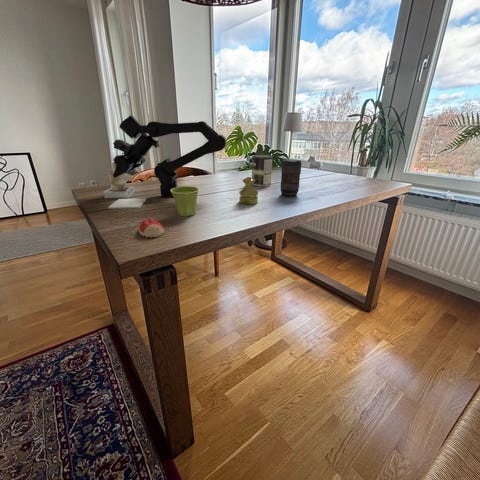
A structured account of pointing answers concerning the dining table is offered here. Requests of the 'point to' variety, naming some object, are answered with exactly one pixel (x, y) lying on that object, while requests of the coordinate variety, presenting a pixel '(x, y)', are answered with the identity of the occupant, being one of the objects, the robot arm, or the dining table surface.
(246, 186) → the olive yellow tied sack
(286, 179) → the dark brown cylinder
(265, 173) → the coffee can
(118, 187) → the maple peg
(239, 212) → the dining table surface
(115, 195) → the grey square frame
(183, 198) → the plant pot
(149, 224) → the red and white dome
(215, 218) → the dining table surface
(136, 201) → the sage board
